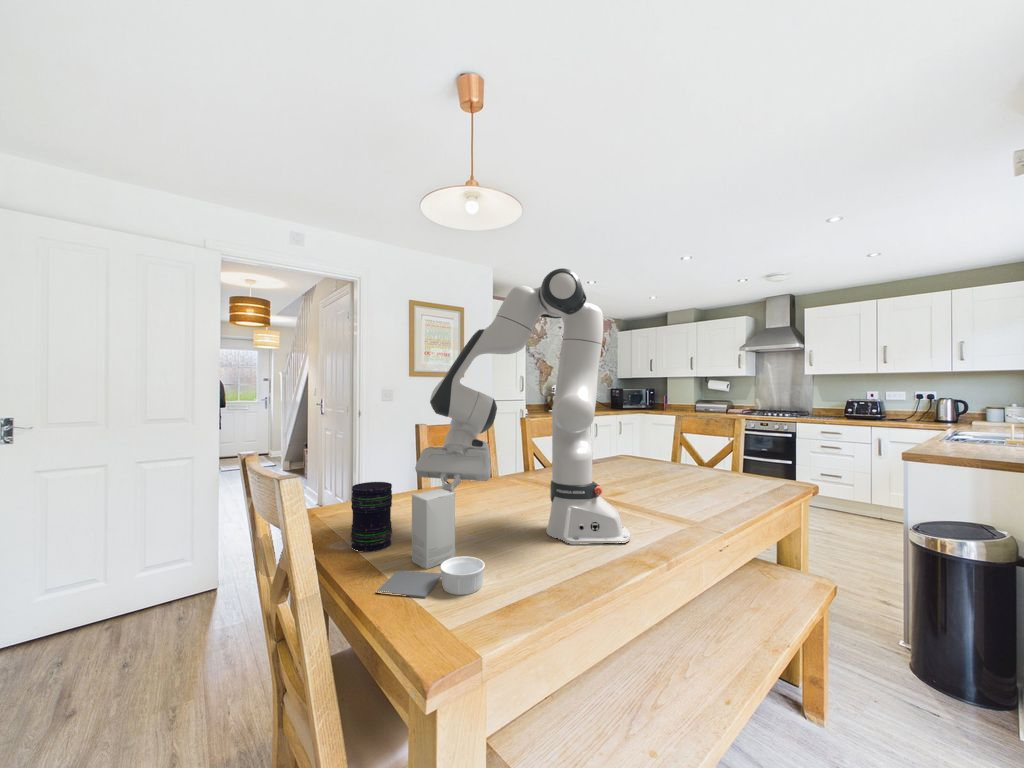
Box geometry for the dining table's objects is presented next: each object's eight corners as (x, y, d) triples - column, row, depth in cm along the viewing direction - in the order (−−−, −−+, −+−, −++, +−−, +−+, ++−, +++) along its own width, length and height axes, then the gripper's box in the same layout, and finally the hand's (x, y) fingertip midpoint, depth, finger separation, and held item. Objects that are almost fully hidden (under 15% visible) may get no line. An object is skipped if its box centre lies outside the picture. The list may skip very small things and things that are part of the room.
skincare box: (440, 552, 101) (440, 487, 102) (457, 560, 97) (457, 492, 97) (409, 562, 96) (410, 493, 96) (425, 570, 91) (426, 498, 91)
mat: (442, 575, 89) (442, 573, 89) (425, 598, 79) (425, 596, 79) (397, 572, 90) (397, 570, 90) (375, 593, 80) (375, 591, 80)
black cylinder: (349, 541, 109) (350, 483, 109) (388, 536, 113) (389, 480, 113) (352, 555, 100) (353, 491, 100) (394, 548, 104) (395, 488, 104)
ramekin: (489, 593, 81) (489, 571, 81) (442, 600, 78) (443, 576, 78) (479, 574, 89) (479, 554, 89) (437, 579, 87) (437, 558, 87)
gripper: (421, 439, 117) (405, 482, 107) (492, 442, 113) (483, 487, 104) (426, 453, 121) (411, 495, 111) (495, 457, 118) (487, 500, 108)
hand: (447, 491), depth 107 cm, fingers closed
